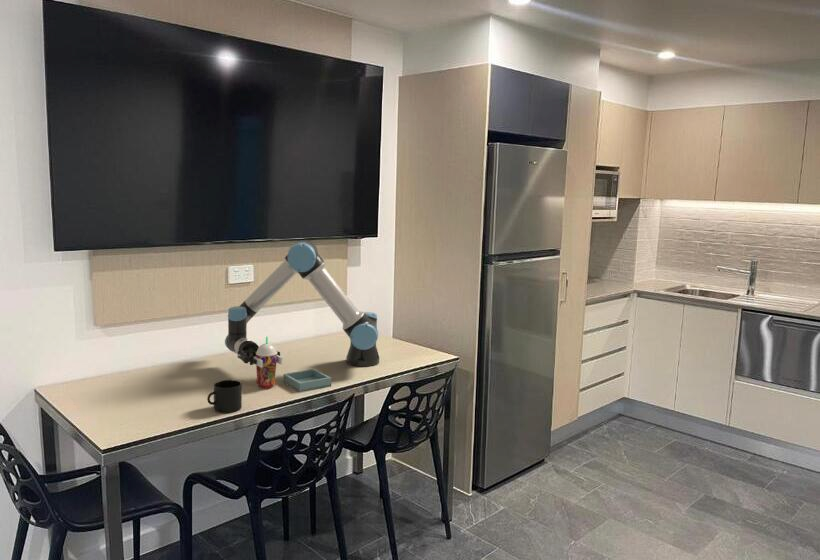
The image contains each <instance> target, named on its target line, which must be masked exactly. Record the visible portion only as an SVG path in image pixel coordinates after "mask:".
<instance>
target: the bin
mask: <svg viewBox="0 0 820 560" xmlns="http://www.w3.org/2000/svg"><path fill="white" fill-rule="evenodd" d="M282 378H283V379H282V382H284V383H283V384H285V383H286V384H285V385H287V384H288V385H289V387H290V386H291V387H290V388H292V389H294V390H295V389H296V390H295V391H297V392H299V393H303V392H310V391H314V390H319V389H324V388H329V387H332V377H330V376H329V375H326V374H325V373H322V372H321V371H320V370H317V369H315V368H312V369H305V370H299V371H294V372H288V373H283V375H282ZM288 385H287V386H288ZM318 388H319V389H318Z"/></svg>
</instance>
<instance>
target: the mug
mask: <svg viewBox="0 0 820 560" xmlns="http://www.w3.org/2000/svg"><path fill="white" fill-rule="evenodd" d="M242 385H243V384H242V382H241V381H239V380H234V379H224V380H220V381H216V382H215V383H213V391H212V392H210V393H209V394H208V396H207V399H206V400H207V403H208V404H209V405H212V406H213V409H214V411H216V412H217V413H222V414H229V413H235V412H237V411H240V410H242V407H243V406H242V404H243V402H242V399H243V397H242V394H243V393H242V388H243V386H242ZM212 396H213V401H211V397H212Z"/></svg>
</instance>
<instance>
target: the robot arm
mask: <svg viewBox="0 0 820 560" xmlns="http://www.w3.org/2000/svg"><path fill="white" fill-rule="evenodd" d="M283 259H284V261H283V262H282V263H281V264H280V265H278V267H277V268H276V269H275V270H274V271H273V272H272V273H270V275H269V276H268V277H267V278H266V279H265V280H264V281H263V282H262V283H261V284H260V285H259V286H258V287H257V288H256V289H255V290H254V291H253V292H252V293H251V294H250V295H249V296H248V297H247V298H245V300H244V301H243V302H242V303H240V305H238V306H231V307H230V308H228V311H227V313H228V314H227V319H228V320H227V322H228V323H227V326H228V330H227V331H228V333H227V336H226V337H225V339H224V346H225V347H226V348H227V349H228V350H229V351H230V352H233V353H235V354H237V358H238V359H240V360H241V361H242V362H243V363H244V364H246V365H247V364H248V363H249V365H250V366H253V365H255V366H256V365H257V366H259V367H263V360H261V359H259V358H257V357H256V352H257V350H258V348H259V347H260V346H259V345H258V344H257V343H256V342H254V341H252V340H251V339H249V338H248V337H247V333H248V332H247V324H248V322H250V320H252V318H254V316H255V315H256V314H257V313H258V312H259V311H260V310H261V309H263V307H264V306H265V305H266V304H267V303H268V302H269V301H271V299H272V298H273V297H274V296H275V295H277V294H278V293H279V291H280V290H281V289H282V288H284V286H285V285H287V283H288V282H290V281H291V280H292V278H294V277H295V276H296V274H298V275H299V276H300V277H301V278H302V280H307V281H309V283H310V284H311V286H313V287H314V290H316V291H317V293H318V294H319V295H320V297H321V298H322V299H323V300H324V302H325V303H326V304H327V305H328V306H329V308H330V309H331V310H332V312H333V313H334V314H335V316H336V317H337V318H338V319H339V320H340V322H341V323H342V329H343V331H344V333H345V334H346V335H347V337H348V338H349V339H350V345H349V348H348V351H347V355H346V357H345V358H346V359H345V362H346V363H347V364H348V365H350V366H355V367H370V366H371V367H372V366H375V365H378V364H379V363H380V356H379V352H378V348H377V341H378V338H379V331H378V326H377V325H378V323H377V322H378V315H377V313H375V312H372V311H371V312H370V311H365V312H364V311H360V310H359V309H358V308H357V307H356V306H355V304H354V303H353V302H352V300H351V299H350V298H349V297H348V296H347V294H346V293H345V292H344V290H343V289H342V288H341V286H340V285H339V284H338V282H336V280H335V279H334V278H333V276H332V275H331V274H330V272H329V271H328V270H327V269H326V267H325V263H326V261H324V259H323V258H322V257H321V255H320V253H319V251H318V248H317V246H316V245H315V244H314V243H313V242H312V241H310V240H306V239H304V240H299V241H297V242H295V243H294V244H293V245H291V247H290V248H289V249H288V252H287V255H286V256H285V257H284V258H283ZM276 351H277V350H276ZM277 352H278V353H277V363H278V364H279V365H283V357H282V356H281V352H280V351H277ZM277 363H276V364H277Z"/></svg>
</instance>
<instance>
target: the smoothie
mask: <svg viewBox="0 0 820 560" xmlns="http://www.w3.org/2000/svg"><path fill="white" fill-rule="evenodd" d="M268 339H269V338H268V336H266V337H265V343H263V344H261V345H260V346H258V347H259V348H258V350H257V352H256V357H257V358H259V359H261V360H263V367H259V366H257V365H255V366H256V370H255V371H256V383H257V385H258V387H259V388H260V389H265V388H267V389H272V388H274V385H275V382H276V374H277V373H276V371H277V353H278V352H279V351H278V352H277V349H276V347H275V346H274V345H273V344H271V343H269V342H268Z"/></svg>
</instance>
